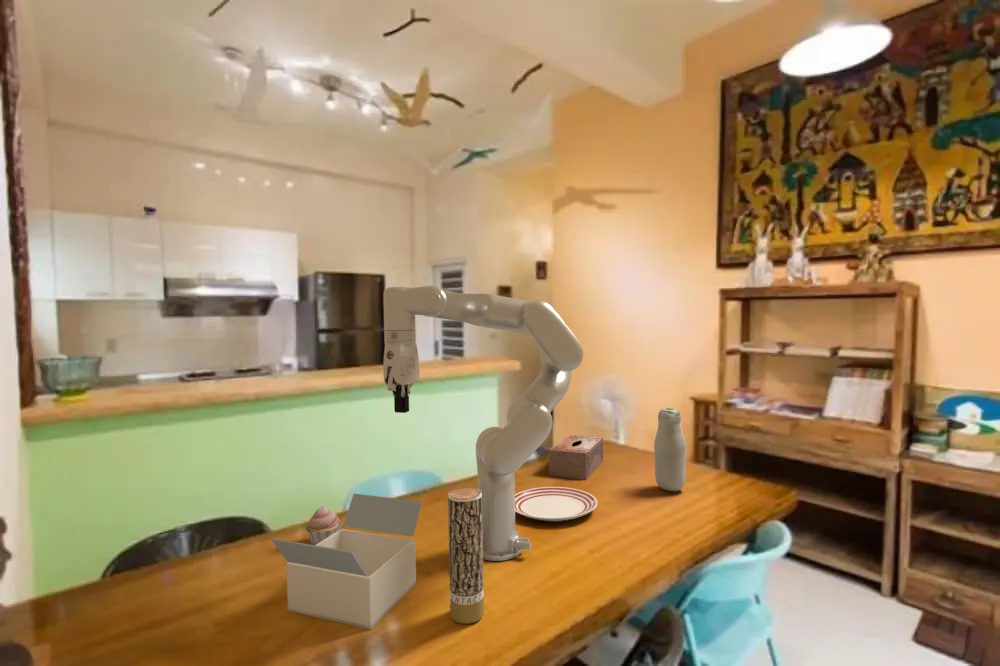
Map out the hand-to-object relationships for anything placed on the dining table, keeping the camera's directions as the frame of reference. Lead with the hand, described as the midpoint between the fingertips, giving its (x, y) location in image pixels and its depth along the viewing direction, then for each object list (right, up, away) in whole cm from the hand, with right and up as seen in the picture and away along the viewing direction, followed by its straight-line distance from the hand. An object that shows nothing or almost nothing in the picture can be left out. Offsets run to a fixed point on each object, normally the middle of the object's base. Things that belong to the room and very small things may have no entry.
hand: (401, 411), depth 126 cm
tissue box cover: (+55, -34, +75) cm, 99 cm away
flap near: (-11, -24, -26) cm, 37 cm away
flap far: (-4, -23, -5) cm, 24 cm away
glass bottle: (+82, -34, +49) cm, 101 cm away
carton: (-7, -38, -15) cm, 41 cm away
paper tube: (+18, -38, -23) cm, 48 cm away
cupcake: (-23, -37, +12) cm, 46 cm away
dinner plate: (+40, -36, +33) cm, 63 cm away
